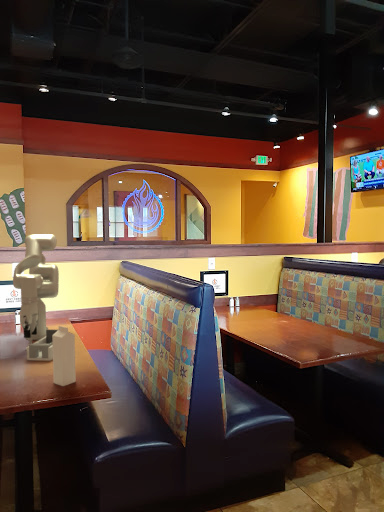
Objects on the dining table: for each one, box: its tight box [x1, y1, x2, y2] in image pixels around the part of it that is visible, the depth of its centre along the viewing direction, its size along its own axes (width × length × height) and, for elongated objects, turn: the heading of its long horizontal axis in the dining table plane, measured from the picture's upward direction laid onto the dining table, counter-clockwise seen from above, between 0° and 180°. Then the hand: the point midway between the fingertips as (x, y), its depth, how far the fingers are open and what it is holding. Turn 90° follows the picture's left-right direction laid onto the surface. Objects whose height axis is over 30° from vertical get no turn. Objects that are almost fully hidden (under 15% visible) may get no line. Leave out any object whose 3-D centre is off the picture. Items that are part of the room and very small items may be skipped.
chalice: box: [25, 314, 37, 352], centre depth 205 cm, size 7×7×18 cm
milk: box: [52, 325, 77, 387], centre depth 159 cm, size 6×6×22 cm
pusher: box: [39, 328, 59, 352], centre depth 198 cm, size 17×8×9 cm, turn 175°
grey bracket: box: [26, 336, 53, 362], centre depth 199 cm, size 21×11×7 cm, turn 175°
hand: (30, 335), depth 205 cm, fingers open, 5 cm apart
